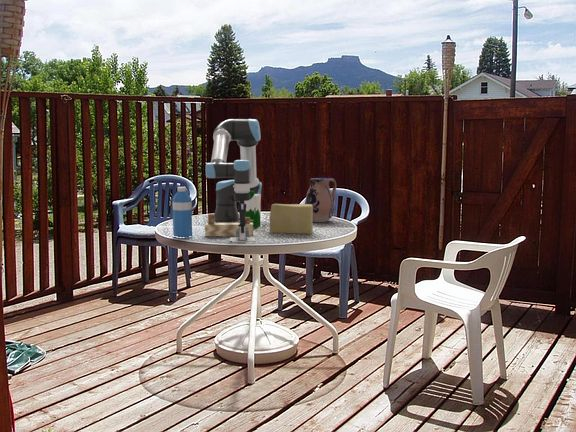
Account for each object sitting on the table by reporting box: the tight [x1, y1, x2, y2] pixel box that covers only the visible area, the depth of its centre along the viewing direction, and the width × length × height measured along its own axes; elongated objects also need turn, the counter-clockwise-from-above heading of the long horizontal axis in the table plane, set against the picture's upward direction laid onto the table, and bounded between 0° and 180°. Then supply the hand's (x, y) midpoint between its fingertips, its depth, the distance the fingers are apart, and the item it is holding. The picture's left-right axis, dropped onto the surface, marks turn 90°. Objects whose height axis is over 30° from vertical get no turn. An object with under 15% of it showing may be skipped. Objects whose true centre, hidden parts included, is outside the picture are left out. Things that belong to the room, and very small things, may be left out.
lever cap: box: [235, 227, 250, 237], centre depth 305 cm, size 6×10×4 cm, turn 5°
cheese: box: [269, 203, 314, 235], centre depth 326 cm, size 22×10×15 cm, turn 84°
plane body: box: [204, 213, 254, 237], centre depth 318 cm, size 24×6×11 cm, turn 95°
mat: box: [229, 236, 256, 243], centre depth 306 cm, size 12×12×1 cm
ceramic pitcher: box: [304, 177, 337, 223], centre depth 365 cm, size 18×21×25 cm
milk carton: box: [244, 191, 262, 229], centre depth 343 cm, size 9×9×20 cm
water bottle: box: [172, 186, 193, 237], centre depth 312 cm, size 9×9×25 cm
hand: (242, 237), depth 306 cm, fingers closed on lever cap, 10 cm apart
